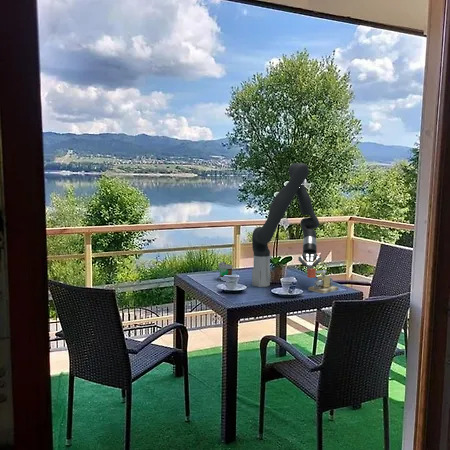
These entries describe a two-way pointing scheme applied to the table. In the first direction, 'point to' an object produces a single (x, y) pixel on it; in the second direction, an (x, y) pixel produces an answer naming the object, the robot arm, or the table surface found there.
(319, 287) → the valve body
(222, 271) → the food container
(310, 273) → the valve lever
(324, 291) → the mounting board
